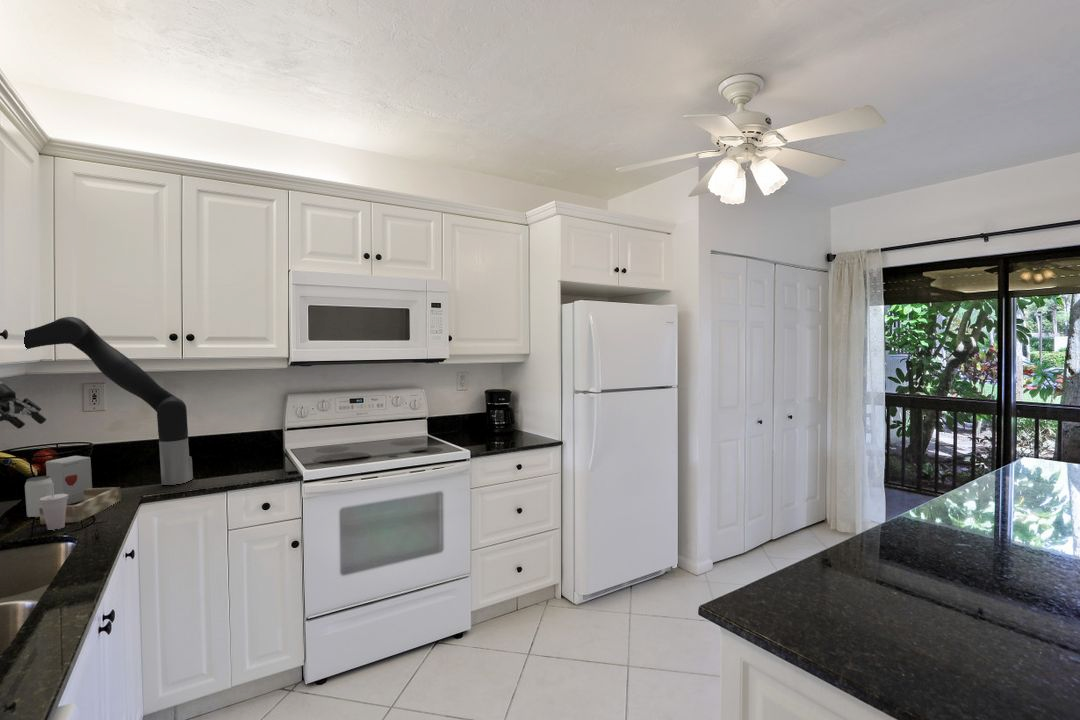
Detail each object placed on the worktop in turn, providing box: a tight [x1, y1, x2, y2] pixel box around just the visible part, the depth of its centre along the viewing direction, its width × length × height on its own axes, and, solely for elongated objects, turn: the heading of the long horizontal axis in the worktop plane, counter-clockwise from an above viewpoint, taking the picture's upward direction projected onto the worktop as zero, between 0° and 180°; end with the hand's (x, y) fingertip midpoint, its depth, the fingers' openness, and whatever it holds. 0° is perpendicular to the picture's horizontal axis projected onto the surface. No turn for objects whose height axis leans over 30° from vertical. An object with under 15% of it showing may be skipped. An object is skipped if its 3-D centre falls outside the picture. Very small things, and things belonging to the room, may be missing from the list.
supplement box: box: [45, 455, 93, 506], centre depth 180 cm, size 9×9×15 cm
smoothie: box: [39, 483, 69, 531], centre depth 155 cm, size 6×6×14 cm
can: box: [24, 475, 53, 518], centre depth 167 cm, size 6×6×12 cm
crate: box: [39, 486, 122, 525], centre depth 169 cm, size 20×10×5 cm, turn 8°
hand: (33, 424), depth 172 cm, fingers open, 8 cm apart
